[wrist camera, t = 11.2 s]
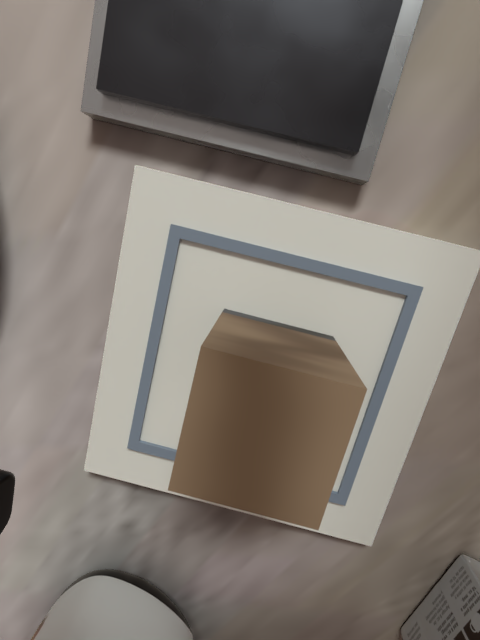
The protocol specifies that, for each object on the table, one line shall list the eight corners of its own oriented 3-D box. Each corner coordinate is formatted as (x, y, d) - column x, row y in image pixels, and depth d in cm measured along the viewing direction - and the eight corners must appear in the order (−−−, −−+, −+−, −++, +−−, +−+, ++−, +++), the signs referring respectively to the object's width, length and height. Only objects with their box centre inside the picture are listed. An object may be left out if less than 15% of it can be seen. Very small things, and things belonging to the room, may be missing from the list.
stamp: (333, 336, 17) (367, 389, 11) (302, 434, 18) (318, 530, 12) (224, 308, 17) (200, 346, 11) (200, 408, 18) (167, 490, 12)
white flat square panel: (475, 250, 16) (488, 251, 15) (367, 534, 20) (372, 549, 19) (141, 168, 17) (133, 163, 16) (91, 461, 20) (82, 472, 19)
